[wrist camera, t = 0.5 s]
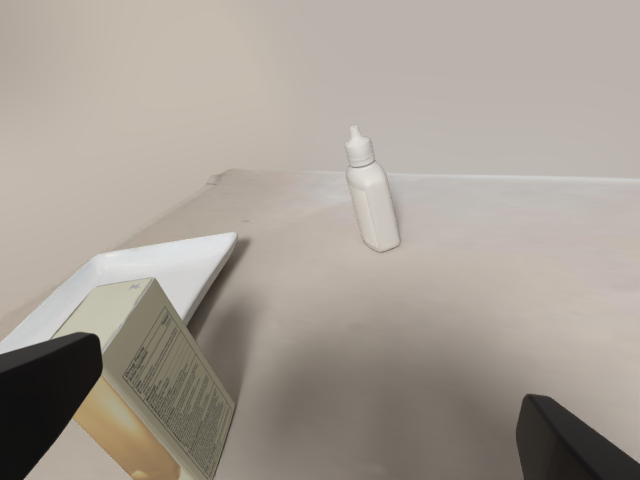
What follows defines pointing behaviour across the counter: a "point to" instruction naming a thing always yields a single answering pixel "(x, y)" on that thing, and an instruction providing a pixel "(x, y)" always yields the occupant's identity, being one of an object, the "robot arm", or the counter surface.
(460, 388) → the counter surface
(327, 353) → the counter surface
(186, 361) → the skincare box
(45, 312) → the salad plate
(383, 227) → the eye dropper bottle
